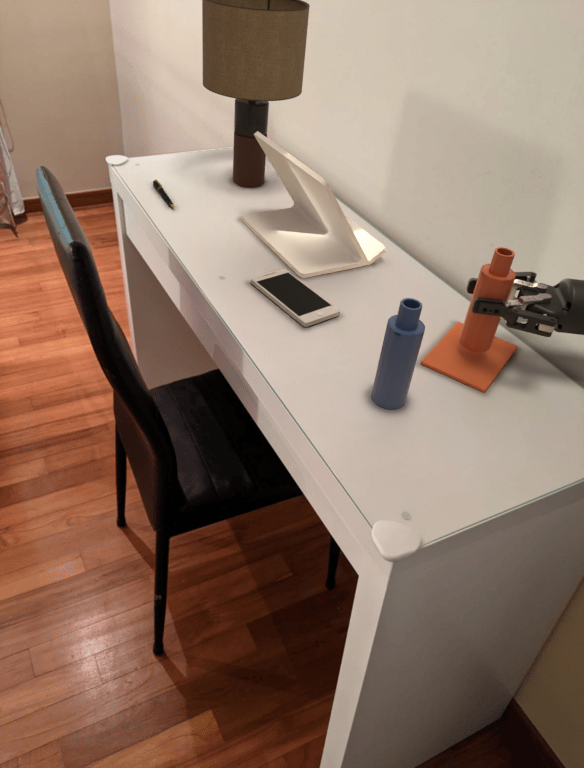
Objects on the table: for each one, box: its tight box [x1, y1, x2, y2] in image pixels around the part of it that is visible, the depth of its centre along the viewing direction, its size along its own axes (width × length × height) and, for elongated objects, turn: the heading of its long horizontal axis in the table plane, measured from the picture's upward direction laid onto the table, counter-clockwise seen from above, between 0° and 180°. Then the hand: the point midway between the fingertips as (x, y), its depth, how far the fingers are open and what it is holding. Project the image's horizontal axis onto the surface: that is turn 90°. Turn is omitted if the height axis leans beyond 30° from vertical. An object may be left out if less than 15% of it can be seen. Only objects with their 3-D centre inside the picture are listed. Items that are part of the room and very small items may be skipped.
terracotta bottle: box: [459, 246, 516, 352], centre depth 86 cm, size 5×5×15 cm
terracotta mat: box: [420, 321, 519, 393], centre depth 92 cm, size 10×14×1 cm
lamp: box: [201, 0, 311, 189], centre depth 126 cm, size 20×20×35 cm
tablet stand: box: [240, 131, 387, 279], centre depth 112 cm, size 18×25×17 cm
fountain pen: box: [152, 179, 175, 208], centre depth 126 cm, size 14×1×2 cm, turn 26°
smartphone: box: [250, 268, 341, 328], centre depth 100 cm, size 7×16×1 cm, turn 37°
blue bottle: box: [371, 297, 426, 410], centre depth 78 cm, size 5×5×15 cm
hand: (471, 295), depth 86 cm, fingers closed on terracotta bottle, 4 cm apart
